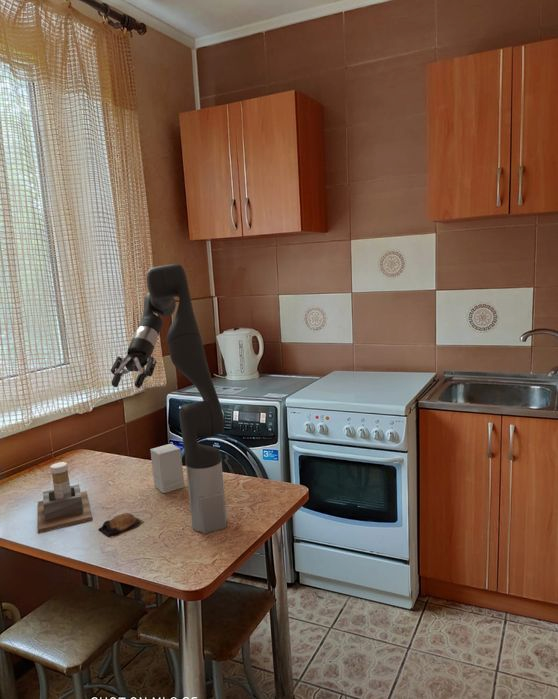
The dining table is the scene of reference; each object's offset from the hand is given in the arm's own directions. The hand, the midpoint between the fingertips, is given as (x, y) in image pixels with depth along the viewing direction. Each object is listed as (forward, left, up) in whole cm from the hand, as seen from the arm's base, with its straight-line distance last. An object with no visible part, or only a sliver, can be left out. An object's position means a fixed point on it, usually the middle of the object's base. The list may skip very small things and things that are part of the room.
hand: (125, 386), depth 169 cm
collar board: (-7, +22, -33) cm, 40 cm away
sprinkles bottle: (-7, +22, -32) cm, 39 cm away
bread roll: (-25, +8, -33) cm, 43 cm away
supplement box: (-6, -9, -33) cm, 35 cm away
